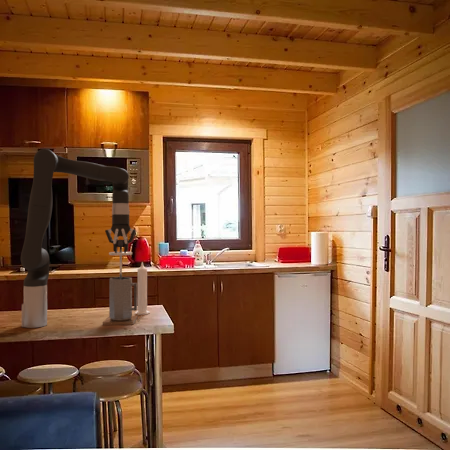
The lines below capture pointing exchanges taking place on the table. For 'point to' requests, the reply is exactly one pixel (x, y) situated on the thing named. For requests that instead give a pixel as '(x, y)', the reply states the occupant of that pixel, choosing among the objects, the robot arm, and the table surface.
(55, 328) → the table surface
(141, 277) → the candle
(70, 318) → the table surface
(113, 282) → the press
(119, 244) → the plunger
